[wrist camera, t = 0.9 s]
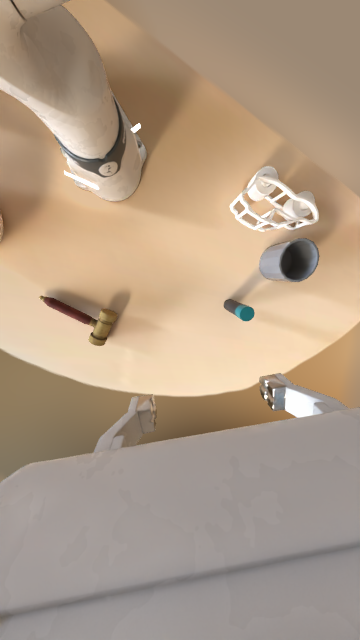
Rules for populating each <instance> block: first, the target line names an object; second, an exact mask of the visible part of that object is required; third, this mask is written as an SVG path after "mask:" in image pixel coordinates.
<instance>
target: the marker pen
mask: <svg viewBox="0 0 360 640" xmlns="http://www.w3.org/2000/svg"><path fill="white" fill-rule="evenodd" d="M224 308H225V309H226V310H228V311H229V312H231V313H233V314H234V315H236V316H237V317H238V318H240V319H241V320H243V321H249V320H251V319H252V318H253V317H254V310H253V308H251V307H249V306H247V305H243V304H241V303H238V302H236V301H234V300H231V299H229V300H226V301H225V303H224Z"/></svg>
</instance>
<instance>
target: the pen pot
mask: <svg viewBox="0 0 360 640" xmlns="http://www.w3.org/2000/svg"><path fill="white" fill-rule="evenodd" d="M318 261H319V252H318V248H317V246H316V245H315V243H314V242H313V241H311V240H309V239H307V238H298V239H294V240H291V241H287V242H283V243H279V244H276V245H273V246H271V247H269V248H267V249H266V250H265V251H264V253H263V254H262V256H261V258H260V262H259V268H260V271H261V273H262V275H263V276H264V277H265V278H267V279H269V280H273V281H287V282H300V281H302V280H305V279H307V278H308V277H309V276H310V275H311V274H312V273H313V272H314V271H315V269H316V267H317V265H318Z"/></svg>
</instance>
